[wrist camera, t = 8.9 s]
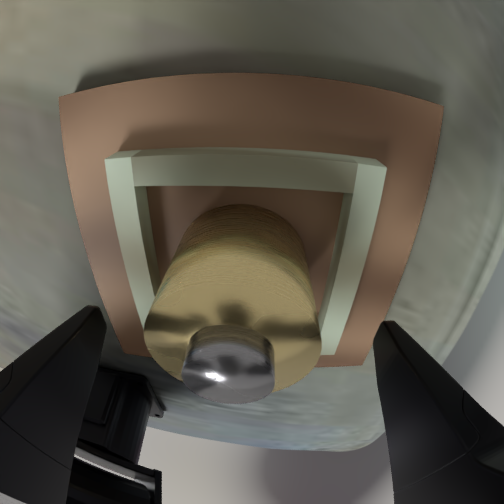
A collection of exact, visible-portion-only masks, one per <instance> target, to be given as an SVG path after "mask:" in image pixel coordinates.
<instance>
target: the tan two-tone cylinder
mask: <svg viewBox="0 0 504 504" xmlns="http://www.w3.org/2000/svg"><path fill="white" fill-rule="evenodd" d="M144 339H145V343H146V346H147V348H148V351H149V352H150V354H151V355H152V357H153V358H154V360H155V361H156V362H157V363H158V364H159V365H160V366H161V367H162V368H163V369H164V370H165V371H166V372H168V373H169V374H170V375H172V376H173V377H175V378H176V379H178V380H180V381H182V382H184V384H185V385H186V386H187V388H188V389H190V390H191V391H192V392H194V393H195V394H197V395H199V396H201V397H203V398H205V399H208V400H211V401H215V402H220V403H227V404H243V403H250V402H254V401H258V400H260V399H262V398H264V397H266V396H268V395H269V394H270V393H271V392H275V391H279V390H281V389H284V388H287V387H289V386H291V385H293V384H295V383H296V382H298V381H300V380H301V379H302V378H304V377H305V376H306V375H307V374H308V373H309V372H310V371H311V370H312V369H313V368H314V366H315V365H316V363H317V362H318V360H319V357H320V354H321V350H322V340H321V334H320V328H319V322H318V317H317V311H316V306H315V300H314V295H313V290H312V284H311V279H310V274H309V269H308V264H307V259H306V255H305V250H304V246H303V243H302V241H301V238H300V237H299V235H298V233H297V232H296V230H295V229H294V228H293V227H292V225H291V224H290V223H288V222H287V221H286V220H285V219H284V218H282V217H281V216H279V215H278V214H276V213H274V212H272V211H270V210H268V209H265V208H262V207H259V206H255V205H249V204H230V205H224V206H220V207H217V208H214V209H211V210H209V211H207V212H205V213H204V214H202V215H200V216H199V217H198V218H197V219H195V220H194V221H193V222H192V223H191V224H190V226H189V227H188V228H187V230H186V231H185V233H184V235H183V237H182V239H181V241H180V243H179V245H178V247H177V250H176V252H175V254H174V256H173V258H172V260H171V262H170V265H169V267H168V269H167V271H166V274H165V276H164V278H163V280H162V282H161V285H160V287H159V289H158V292H157V294H156V296H155V299H154V301H153V303H152V306H151V308H150V310H149V313H148V315H147V318H146V320H145V323H144Z"/></svg>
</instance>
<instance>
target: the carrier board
mask: <svg viewBox="0 0 504 504" xmlns="http://www.w3.org/2000/svg"><path fill="white" fill-rule="evenodd" d="M59 110H60V122H61V131H62V140H63V147H64V154H65V161H66V167H67V172H68V178H69V183H70V188H71V193H72V198H73V203H74V207H75V211H76V216H77V220H78V224H79V227H80V231H81V235H82V239H83V242H84V246H85V249H86V253H87V256H88V259H89V262H90V266H91V269H92V272H93V275H94V278H95V281H96V284H97V287H98V289H99V292H100V295H101V298H102V301H103V303H104V306H105V308H106V311H107V314H108V316H109V319H110V321H111V324H112V326H113V328H114V331H115V333H116V336H117V338H118V340H119V342H120V345H121V347H122V349H123V351H124V353H126V354H132V355H138V356H145V357H152V355H151V354H150V352H149V351H148V348H147V346H146V343H145V339H144V323H145V320H146V318H147V315H148V313H149V310H150V308H151V306H152V303H153V301H154V299H155V296H156V294H157V292H158V289H159V287H160V285H161V282H162V280H163V278H164V276H165V274H166V271H167V269H168V267H169V265H170V262H171V260H172V258H173V256H174V254H175V252H176V250H177V247H178V245H179V243H180V241H181V239H182V237H183V235H184V233H185V231H186V230H187V228H188V227H189V226H190V224H191V223H192V222H193V221H194V220H195V219H197V218H198V217H199V216H200V215H202V214H204V213H205V212H207V211H209V210H211V209H214V208H217V207H220V206H224V205H230V204H249V205H255V206H259V207H262V208H265V209H268V210H270V211H272V212H274V213H276V214H278V215H279V216H281V217H282V218H284V219H285V220H286V221H287V222H288V223H290V224H291V225H292V227H293V228H294V229H295V230H296V232H297V233H298V235H299V237H300V238H301V241H302V243H303V246H304V250H305V255H306V259H307V264H308V269H309V274H310V279H311V284H312V290H313V295H314V300H315V306H316V311H317V317H318V322H319V328H320V334H321V340H322V350H321V354H320V357H319V360H318V362H317V363H316V365H315V366H314V367H339V366H357V365H362V364H363V362H364V360H365V358H366V356H367V355H368V353H369V351H370V348H371V346H372V344H373V339H374V336H375V334H376V332H377V330H378V328H379V325H380V324H381V322H382V321H384V318H385V316H386V314H387V312H388V309H389V307H390V305H391V302H392V300H393V297H394V295H395V292H396V290H397V287H398V285H399V282H400V280H401V277H402V274H403V272H404V269H405V266H406V263H407V260H408V258H409V255H410V252H411V249H412V246H413V243H414V240H415V236H416V233H417V230H418V227H419V223H420V220H421V216H422V213H423V209H424V206H425V202H426V198H427V194H428V190H429V186H430V182H431V178H432V173H433V169H434V164H435V159H436V154H437V149H438V143H439V137H440V131H441V125H442V118H443V110H444V106H442V105H439V104H435V103H432V102H429V101H426V100H423V99H419V98H416V97H412V96H409V95H405V94H401V93H397V92H393V91H389V90H385V89H380V88H376V87H371V86H366V85H361V84H356V83H350V82H344V81H338V80H331V79H324V78H316V77H307V76H296V75H284V74H267V73H204V74H187V75H175V76H165V77H156V78H148V79H141V80H134V81H128V82H122V83H116V84H111V85H106V86H101V87H96V88H92V89H88V90H83V91H79V92H75V93H72V94H68V95H64V96H61V97H59ZM152 358H153V357H152Z"/></svg>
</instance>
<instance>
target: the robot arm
mask: <svg viewBox="0 0 504 504" xmlns="http://www.w3.org/2000/svg"><path fill="white" fill-rule="evenodd" d="M106 329H107V326H106V322H105V320H104V317H103V315H102V312H101V310H100V308H99V307H97V306H91V305H88V306H86V307H84V308H83V309H82V310H80V311H79V312H77V313H76V314H75V315H73V316H72V317H71V318H69V319H68V320H67V321H65V322H64V323H62V324H61V325H60V326H58V327H57V328H56V329H54V330H53V331H52V332H50V333H49V334H48V335H46V336H45V337H44V338H43V339H41V340H40V341H39V342H37V343H36V344H35V345H33V346H32V347H31V348H30V349H28V350H27V351H26V352H24V353H23V354H22V355H21V356H19V357H18V358H17V359H16V360H14V362H12V363H11V364H9V365H8V366H7V367H6V368H4V369H3V370H2V371H1V372H0V504H162V493H161V492H162V487H161V485H162V482H161V481H162V472H161V471H158V470H155V469H153V470H152V469H149V468H146V467H143V466H140V465H138V461H139V456H140V452H141V447H142V443H143V439H144V435H145V431H146V426H147V422H148V418H149V416H152V417H157V418H162V417H163V414H164V412H163V410H162V408H161V407H160V405H159V403H158V401H157V399H156V397H155V395H154V392H153V390H152V388H151V386H150V384H149V382H148V380H147V379H146V378H145V377H142V376H138V375H133V374H127V373H122V372H117V371H112V370H108V369H103V368H99V367H98V365H99V360H100V356H101V351H102V347H103V343H104V338H105V334H106ZM373 349H374V357H375V367H376V377H377V386H378V391H379V396H380V401H381V407H382V412H383V418H384V424H385V430H386V436H387V442H388V449H389V455H390V464H391V472H392V481H393V491H394V504H504V426H503V425H502V424H500V423H499V422H498V421H497V420H496V419H495V418H493V417H492V416H491V415H490V414H489V413H488V412H487V411H486V410H485V409H484V408H482V407H481V406H480V405H479V404H478V403H477V402H476V401H475V400H474V399H473V398H472V397H471V396H470V395H469V394H468V393H467V392H466V391H465V390H463V388H462V387H461V386H460V385H459V384H458V382H457V381H456V380H455V379H454V378H453V377H451V375H450V374H449V373H447V371H445V369H444V368H443V367H442V366H441V365H440V364H439V363H438V362H437V361H436V360H435V359H434V358H433V357H432V356H430V355H429V354H428V353H427V352H426V351H425V350H424V349H423V348H422V347H421V346H420V345H419V344H418V343H417V342H416V341H415V340H414V339H413V338H412V337H411V336H410V335H409V334H408V333H407V332H406V331H404V330H403V329H402V328H401V327H400V326H399V325H398V324H397V323H396V322H395V321H382V322H381V324H380V325H379V328H378V330H377V332H376V334H375V336H374V339H373ZM74 454H75V455H77V456H79V457H82V458H84V459H86V460H88V461H90V462H93V463H95V464H97V465H100V466H102V467H104V468H107V469H110V470H112V471H115V472H117V473H120V474H122V475H125V476H128V477H131V478H134V481H132V480H129V479H127V478H124V477H121V476H118V475H116V474H113V473H110V472H108V471H105V470H103V469H100V468H98V467H96V466H93V465H91V464H89V463H87V462H84V461H82V460H80V459H78V458H76V457H74Z"/></svg>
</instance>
